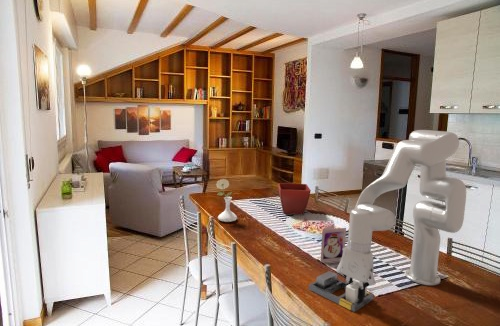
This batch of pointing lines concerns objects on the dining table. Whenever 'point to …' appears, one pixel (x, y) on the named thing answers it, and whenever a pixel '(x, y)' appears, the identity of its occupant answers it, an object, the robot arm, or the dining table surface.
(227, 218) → the flower in vase
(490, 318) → the dining table surface
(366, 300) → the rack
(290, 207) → the plant pot
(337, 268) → the flask
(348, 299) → the white block
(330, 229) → the greeting card
